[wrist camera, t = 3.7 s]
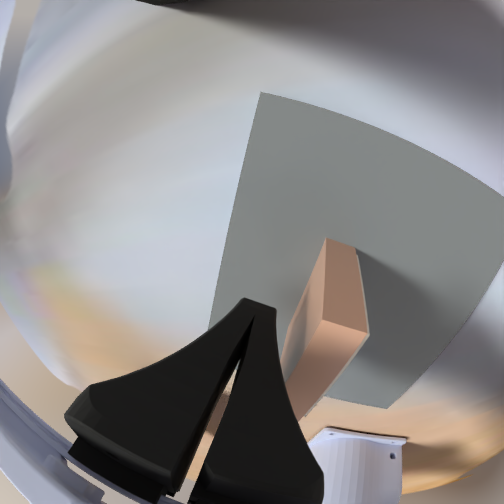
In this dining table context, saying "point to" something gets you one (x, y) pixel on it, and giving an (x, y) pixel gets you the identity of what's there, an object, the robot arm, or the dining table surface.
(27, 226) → the dining table surface
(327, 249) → the tile
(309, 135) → the slate board
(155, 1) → the portable speaker
